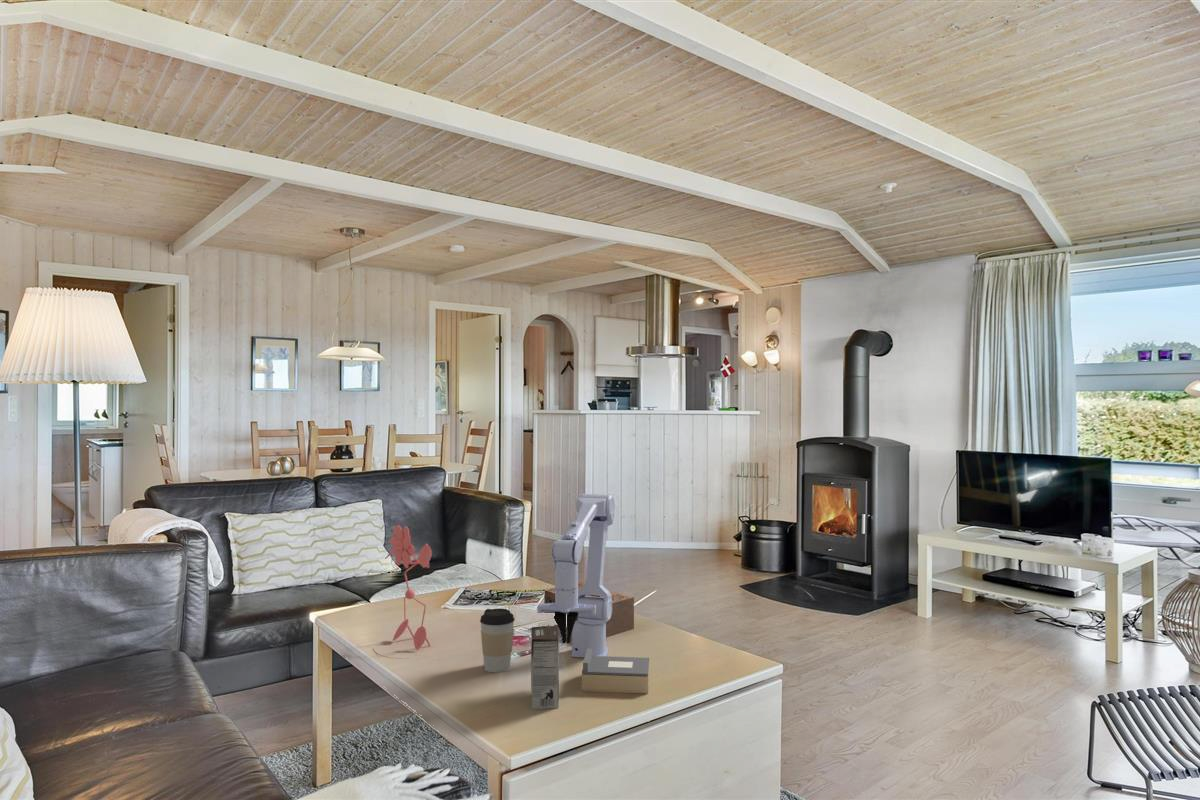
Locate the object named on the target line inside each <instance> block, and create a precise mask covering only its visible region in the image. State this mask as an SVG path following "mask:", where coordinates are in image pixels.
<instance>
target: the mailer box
mask: <svg viewBox="0 0 1200 800" xmlns="http://www.w3.org/2000/svg"><path fill="white" fill-rule="evenodd" d="M649 684H650V670H649V671H648V676H635V675H606V674H582V673H581V691H582V692H598V693H599V692H602V693H603V692H604V693H623V694H624V693H625V694H626V693H629V694H649Z"/></svg>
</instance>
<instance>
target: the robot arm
mask: <svg viewBox="0 0 1200 800" xmlns="http://www.w3.org/2000/svg"><path fill="white" fill-rule="evenodd" d="M575 501H576V503H575V506H576V507H575V509H576V512H577V514H576V516H575V518H574V521H570V522H569V523H568V524H567V526H566V528H565V531H564V532H563V534H562V536H561V537H560V538H559V539H557V540H555V541H554V542H553V543H552V547H551V560H552V567H553V569H554V573H555V574H554V578H555V579H554V584H555V585H554V588H555V603H545V604H544V603H538V604H537V608H536V610H537V611H536V612H537V614H542V613H555V616H554V619H555V621H556V623H557V625H556V626H557V628H558V631H559V632H560V635H561V641H562V644H571V657H572V658H585V655H586V652H587V649H592V656H607V657H608V651H609V647H608V646H607V638H606V622H607V621H608V620H609V619H610V618H611V614H612V596H611V593H610V592H609V591H610V590H608V588H606V587H605V586H604V585H603V584H604V572H605V571H604V569H605V557H606V544H607V533H608V527H609V526H611V525H613V524H614V521H615V509H616V508H615V507H616V505H615V499H614V496H613V495H612V494H593V493H590V494H589V493H583V492H582V493H580V494H579V495H577V498H576V500H575ZM588 527H589V529H588ZM588 535H589V536H588ZM587 537H588V538H589V540H588V550H587V552H588V553H587V562H586V564H587V565H586V576H585V577H586V578H585V584H586V585H585V586H583V587H582V588H580V589H579V590H578V583H579V563H580V562H581V559H582V554H583V550H584V549H583V545H584V544H585V541H586V539H587ZM586 595H596V596H601V597H603V598H596V597H585V596H586ZM566 613H569V614H568V615H567V628H566ZM576 619H578V621H576Z"/></svg>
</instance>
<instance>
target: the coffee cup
mask: <svg viewBox="0 0 1200 800" xmlns="http://www.w3.org/2000/svg"><path fill="white" fill-rule="evenodd" d="M514 616H515V615H514V614H513V613H512V612H511V611H510V610H509V609H506V608H492V609H491V608H487V609H485V611H484V612H483V614H482V615H481V616H480V620H479V622H480V628H481V629H480V635H481V647H482V654H483V656H482V657H483V666H484V667H483V668H484V670H485V671H486V672H489V673H502V672H505V671H508V670H509V669H510V668H511V662H512V661H511V660H512V652H513V643H514V630H515V628H514V622H515V620H516V619H515V618H514Z"/></svg>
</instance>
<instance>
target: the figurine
mask: <svg viewBox="0 0 1200 800" xmlns="http://www.w3.org/2000/svg"><path fill="white" fill-rule="evenodd" d="M392 531H393V534H394V535H393V536H391V537H390V539H389V544H390V545H391V546H392V550H391V551H390V552H389V553H388V554H387V556H385V558H384V559H385V560H386V559H388V558H389V557H390V556H391V555H392V554H393V556H394V560H395V564H396V566H400V565H401V564H403V566H404V568H406V570H405V571H404V573H403V575H404V578H405V583H406V589H407V590H406V591H405V593H404V595H405V596H404V598H403V606H404V607H403V608H404V609H403V612H404V613H403V614H404V620H403V621H402V623H400V625H399V626H398V627H397V629H396V631H395V633H394V636H393V638H392V641H393V642H394V641H396V640H398V638H399V637H401V636H402V635H403V634H404V633H405V632H406V633H408V632H410V636H411V637H412V639H413V638H414V639H413V645H414V647H415V650H416V651H419V650H420V648H421V647H422V646H423V645H424V644H425V642H426V644H427V645H428V646H429V647H431V646H432V645H431V643H430V641H429V639H428V637H427V629H426V627H425V626H424V622H425V621H424V620H425V613H426V609H427V605H426V604H424V603H423V602H421V601H420V600H419V599H417V598H415V595H416V593H415V591H414V590H413V589H411V588H410V587H409V583H408V576H407V572H408V571H410V570H411V569H413V568H414V567H416V566H417V565H420V566H421V567H422V568H423V569H425V568H427V569H430V560H431V557H432V549H431V546H430V545H429V544H428V543H425V544H424V545H423V546H422V547H421V548H420V551H419V552H418V557H416V556H415V553H416V548H415V546H414V545H413V544H412V543H411V541H412V540H411V539H412V538H411V536H410V530H409V526H407V525H405V526H404V527H403V529H402V527H401V526H400V525H399V524H396V526H395V527H393V530H392ZM411 556H412V557H413V558H414V560H415V561H412V557H411ZM409 565H411V566H410V567H409ZM406 599H408V600H411V599H413V600H415V601H416V602H418V603H419V604H421V605H422V606H424V609H423V613H422V620H421V624H420V626H419V627H418V628H417V630H416V631H415V632H414V633H413V630H412V629H411V627H410V625H409V621H410V620H409V618H408V619H407V616H406V614H407V613H406V609H407V608H406ZM406 629H408V630H409V631H405V630H406Z"/></svg>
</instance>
